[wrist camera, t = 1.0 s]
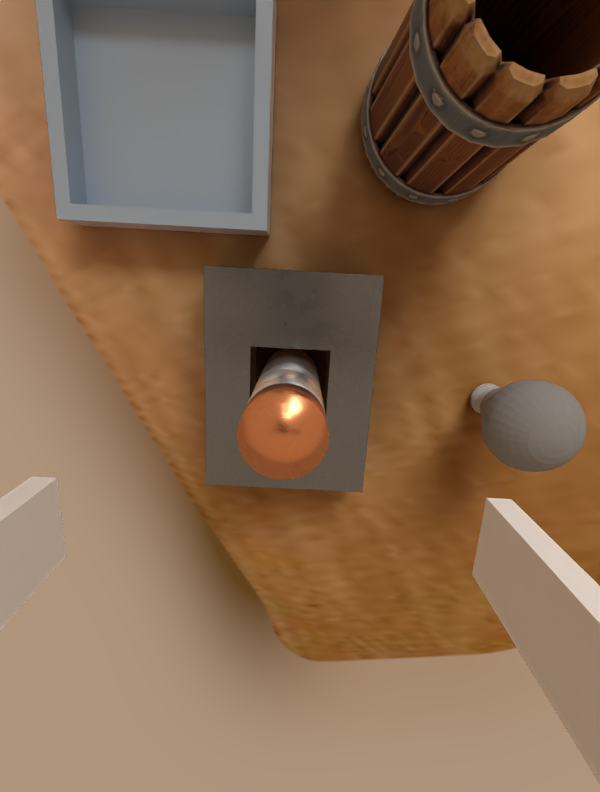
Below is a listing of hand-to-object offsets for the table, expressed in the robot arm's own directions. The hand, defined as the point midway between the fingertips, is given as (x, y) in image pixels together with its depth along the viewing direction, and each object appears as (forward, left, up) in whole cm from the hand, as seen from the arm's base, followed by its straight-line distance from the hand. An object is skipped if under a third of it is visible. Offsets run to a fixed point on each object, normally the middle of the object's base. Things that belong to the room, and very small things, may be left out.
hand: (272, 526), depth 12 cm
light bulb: (+1, +16, -21) cm, 27 cm away
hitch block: (0, 0, -21) cm, 21 cm away
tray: (-18, -9, -21) cm, 29 cm away
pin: (0, 0, -21) cm, 21 cm away
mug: (-20, +11, -21) cm, 31 cm away
